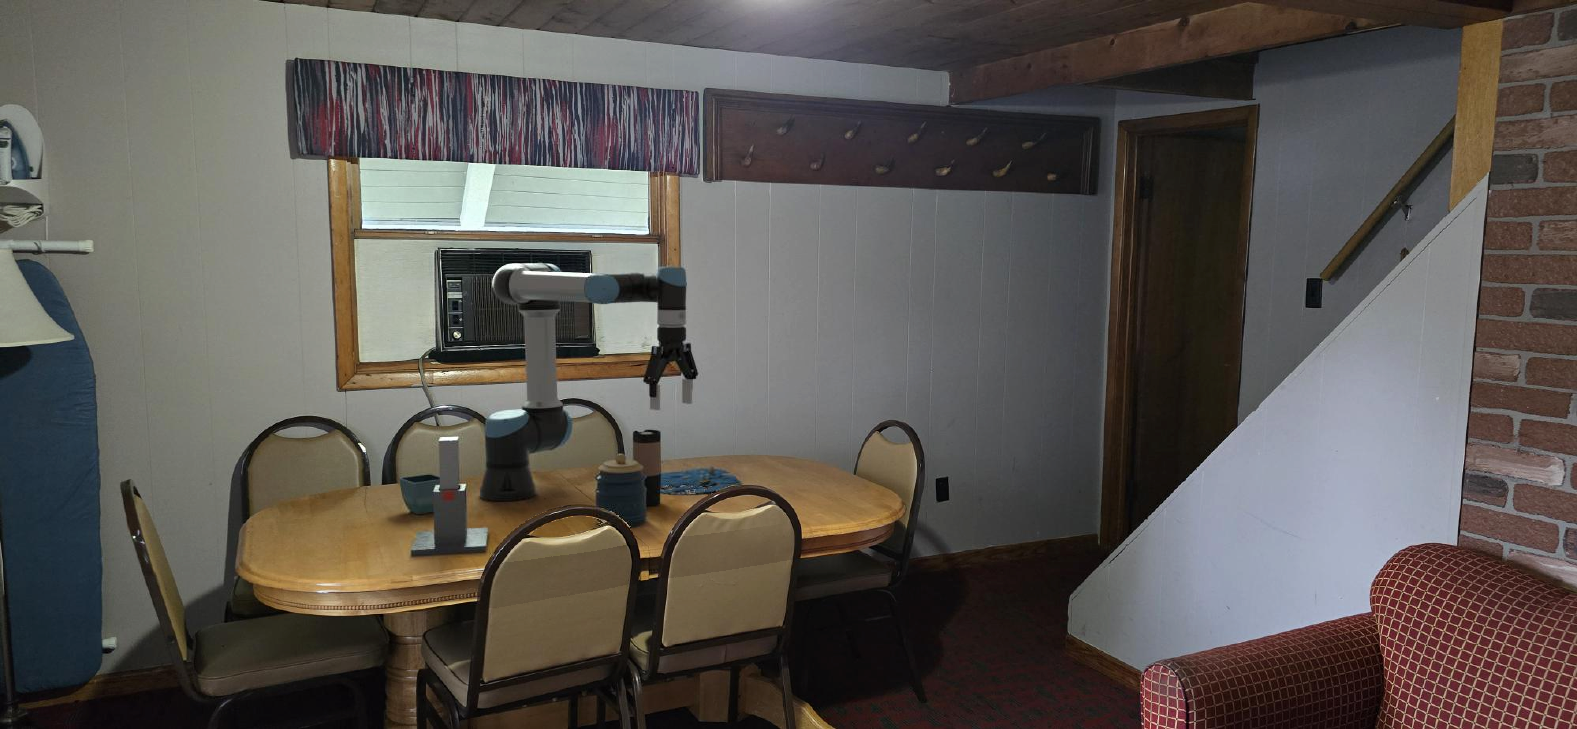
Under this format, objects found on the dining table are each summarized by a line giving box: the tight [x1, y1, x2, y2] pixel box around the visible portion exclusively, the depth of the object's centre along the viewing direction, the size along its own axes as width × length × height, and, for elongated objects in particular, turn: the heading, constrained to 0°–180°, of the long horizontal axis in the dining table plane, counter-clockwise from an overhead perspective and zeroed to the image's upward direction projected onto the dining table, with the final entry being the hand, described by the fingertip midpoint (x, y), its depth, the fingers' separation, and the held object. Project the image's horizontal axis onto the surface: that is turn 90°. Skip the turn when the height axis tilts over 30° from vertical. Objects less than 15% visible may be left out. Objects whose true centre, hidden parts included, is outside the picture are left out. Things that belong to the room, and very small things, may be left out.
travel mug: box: [632, 429, 662, 508], centre depth 276 cm, size 8×8×20 cm
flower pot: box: [398, 473, 440, 515], centre depth 266 cm, size 9×9×9 cm
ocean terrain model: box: [660, 465, 741, 495], centre depth 302 cm, size 30×30×5 cm
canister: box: [594, 453, 648, 528], centre depth 257 cm, size 13×13×18 cm
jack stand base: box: [410, 483, 489, 558], centre depth 236 cm, size 16×16×14 cm
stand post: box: [438, 436, 461, 491], centre depth 235 cm, size 4×4×23 cm
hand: (671, 406), depth 268 cm, fingers open, 13 cm apart
